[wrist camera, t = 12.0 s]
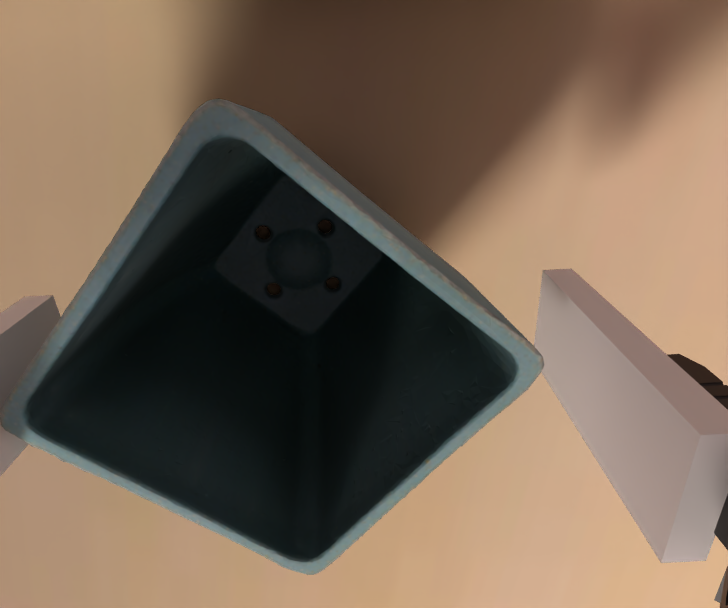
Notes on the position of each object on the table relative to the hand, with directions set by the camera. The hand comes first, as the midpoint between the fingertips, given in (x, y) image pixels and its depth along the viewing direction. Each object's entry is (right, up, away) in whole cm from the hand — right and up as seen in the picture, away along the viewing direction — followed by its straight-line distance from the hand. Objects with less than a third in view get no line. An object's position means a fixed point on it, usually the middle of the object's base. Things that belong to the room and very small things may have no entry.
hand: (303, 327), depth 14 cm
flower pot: (-1, +2, +5) cm, 6 cm away
